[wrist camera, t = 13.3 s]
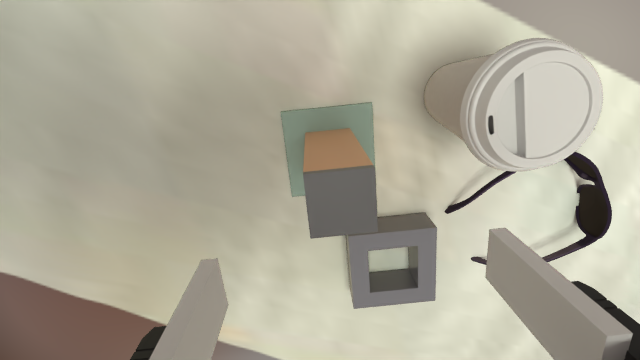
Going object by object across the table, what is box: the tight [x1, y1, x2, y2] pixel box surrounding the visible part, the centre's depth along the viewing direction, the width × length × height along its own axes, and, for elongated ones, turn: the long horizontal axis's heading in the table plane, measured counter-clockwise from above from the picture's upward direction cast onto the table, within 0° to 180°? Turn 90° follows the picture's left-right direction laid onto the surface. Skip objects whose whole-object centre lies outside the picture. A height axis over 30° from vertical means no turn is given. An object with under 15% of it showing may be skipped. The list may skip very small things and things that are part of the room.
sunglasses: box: [445, 152, 612, 265], centre depth 39 cm, size 14×16×5 cm
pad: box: [281, 102, 375, 197], centre depth 38 cm, size 10×10×1 cm
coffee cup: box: [424, 38, 603, 172], centre depth 30 cm, size 10×10×15 cm
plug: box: [303, 128, 378, 238], centre depth 31 cm, size 5×5×15 cm
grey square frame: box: [346, 213, 437, 309], centre depth 41 cm, size 10×10×4 cm
